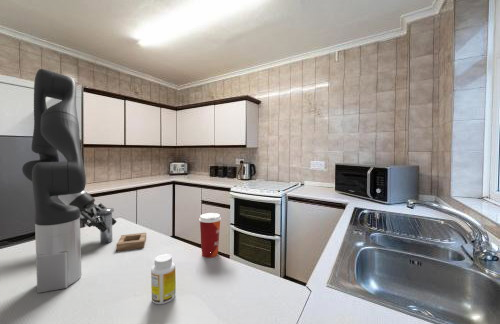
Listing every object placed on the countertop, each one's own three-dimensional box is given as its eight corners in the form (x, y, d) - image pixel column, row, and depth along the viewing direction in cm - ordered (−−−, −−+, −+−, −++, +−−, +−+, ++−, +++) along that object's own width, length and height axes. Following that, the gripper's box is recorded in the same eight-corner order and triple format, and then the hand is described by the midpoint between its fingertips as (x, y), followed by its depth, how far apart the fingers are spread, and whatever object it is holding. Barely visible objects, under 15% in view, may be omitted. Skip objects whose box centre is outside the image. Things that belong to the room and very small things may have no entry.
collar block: (144, 247, 81) (143, 240, 81) (116, 251, 78) (116, 244, 78) (146, 238, 90) (146, 232, 89) (121, 241, 86) (121, 235, 86)
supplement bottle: (177, 289, 57) (177, 252, 56) (172, 304, 51) (172, 262, 51) (155, 291, 56) (155, 252, 56) (147, 306, 50) (147, 263, 50)
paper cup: (223, 257, 74) (223, 217, 74) (200, 261, 72) (200, 219, 71) (218, 247, 82) (218, 211, 81) (197, 251, 79) (197, 213, 78)
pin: (112, 243, 84) (111, 210, 84) (96, 245, 82) (96, 212, 82) (115, 238, 89) (115, 207, 89) (100, 240, 87) (100, 208, 87)
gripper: (72, 195, 77) (109, 226, 79) (94, 188, 91) (124, 214, 93) (56, 210, 76) (93, 241, 78) (80, 201, 90) (111, 227, 92)
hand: (110, 226), depth 86 cm, fingers open, 7 cm apart
